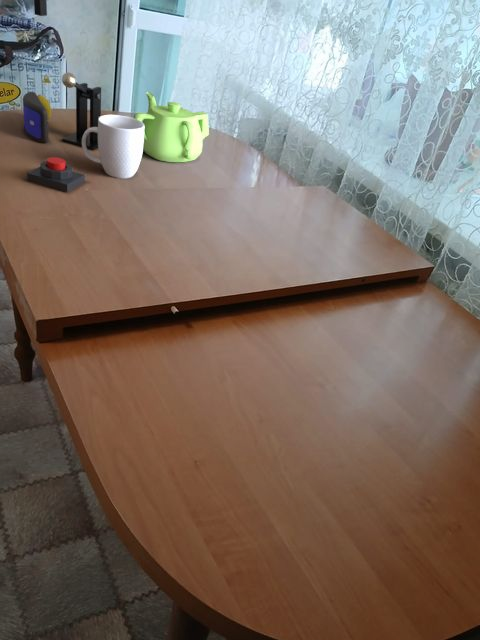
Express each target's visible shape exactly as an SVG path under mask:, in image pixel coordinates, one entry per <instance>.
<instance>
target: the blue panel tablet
mask: <svg viewBox="0 0 480 640" xmlns="http://www.w3.org/2000/svg"><path fill="white" fill-rule="evenodd" d="M22 110H23V125H24V126H23V127H24V132H25V134H26V135H27V136H28V137H29V138H30V139H31V140H33V141H35V142H37V143H40V144H47V143H48V142H49V125H48V124H49V123H48V120H47V111H46V108H45V107H44V105H43V104H42V102H41V101H40V99H39V98H38V94H37V93H36V92H34V91H28V92H26V93H25V94H24V95H23V96H22Z"/></svg>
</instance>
